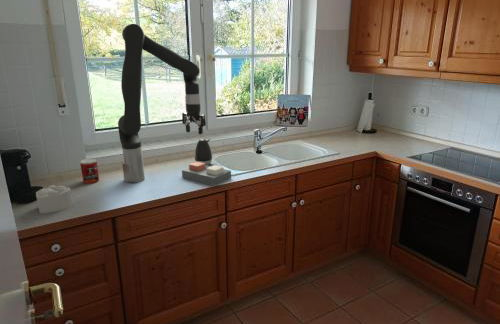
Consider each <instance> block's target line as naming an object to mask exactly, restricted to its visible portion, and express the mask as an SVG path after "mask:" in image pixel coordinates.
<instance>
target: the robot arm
mask: <svg viewBox="0 0 500 324" xmlns="http://www.w3.org/2000/svg"><path fill="white" fill-rule="evenodd" d="M121 35H122V39H123V41H124V51H125V52H124V53H125V54H124V59H123V64H122V69H121V83H120V85H121V94H122V99H123V104H124V113H123V115H121V117H119V119H118V122H117V127H118V136H119V140H120V145H121V150H122V159H123V162H122V163H121V165H122V172H123V173H122V174H123V179H124V181H125V182H127V183H131V184H133V183H137V182H138V183H139V182H142V181H144V180H145V179H146V177H145V170H144V169H145V167H144V159H143V158H144V157H143V150H142V141H141V139H140V136H139V132H140V131H141V128H142V120H141V119H142V118H141V99H142V85H143V62H142V60H143V59H142V54H143V51H145V52H147V53H148V54H150V55H152V56H154V57H155V58H157V59H158V60H160V61H161V62H163V63H164V64H167V65H168V66H170V67H172V68H173V69H175V70H178V71H180V72H182V75H183V81H184V88H185V89H184V91H185V100H184V101H185V112H182V113H181V116H182V117H181V121H182V122H181V123H182V124H183V125H185V132H186V133H190V132H191V125H190V124H191V123H195V124H196V125H197V127H198V135H202V134H203V132H204V130H203V129H204V127H206V125H207V124H206V123H207V122H206V114H201V96H200V86H199V83H198V76H199V75H200V72H201V71H200V67H199V66H198V64H196V62H195V63H194V62H193V61H191V60H190V59H187V58H185V57H184V56H182V55H181V54H179V53H177V52H176V51H174V50H173V49H171V48H169V47H167V46H165V45H163V44H161V43H159V42H157V41H155V40H153V39H151V38H150V37H149V36H148V35H146V34H145V32H144V30H143V28H142V27H141V26H140V25H138V23H130V24H128V25H126V26H125V27H124V28H123V30H122V33H121Z"/></svg>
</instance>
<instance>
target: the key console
mask: <svg viewBox="0 0 500 324" xmlns="http://www.w3.org/2000/svg"><path fill="white" fill-rule="evenodd" d="M211 166H212V165H206V168H205V169H203V170H200V171H194V170H190V169H189V167H187V168H186V167H185V168H183V169H181V177H182V178H183V179H186V180H187V179H188V180H192V181H196V182H199V183H204V184H205V185H210V186H218V185H219V184H222V183H224V182H226V181H228V180H230V179H232V170H229V169H225V168H223V171H224V172H223V173H221V174H219V175H216V176H215V175H211V174H207V168H209V167H211Z"/></svg>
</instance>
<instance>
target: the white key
mask: <svg viewBox="0 0 500 324" xmlns="http://www.w3.org/2000/svg"><path fill="white" fill-rule="evenodd" d="M210 166H211V167H209V168H207V174H211V175H215V176H216V175H219V174H221V173H223V172H224V171H223V169H224V167H223V166H219V165H215V164H213V165H210Z"/></svg>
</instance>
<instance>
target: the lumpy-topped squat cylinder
mask: <svg viewBox="0 0 500 324" xmlns="http://www.w3.org/2000/svg"><path fill="white" fill-rule="evenodd" d="M71 191H72V190H71V188H70V187H68V186H64V185H57V186H56V185H49V186H48V187H46V188H41V189H39V190H38V191H36V192H35V197H36V201H37V207H38V210H39V213H40V214H49V213H54V212H55V213H56V212H59V211H63V210H66V209H68V208H70V207H71V206H72V205H73V204H74V203H73V196H72V192H71Z"/></svg>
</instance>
